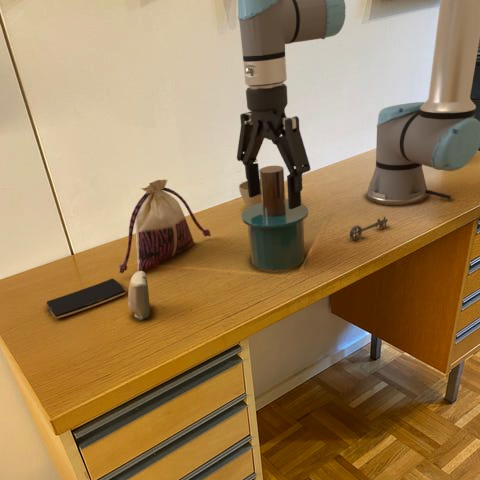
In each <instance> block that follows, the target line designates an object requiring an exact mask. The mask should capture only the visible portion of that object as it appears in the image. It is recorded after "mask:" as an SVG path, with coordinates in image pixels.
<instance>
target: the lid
mask: <svg viewBox="0 0 480 480" xmlns="http://www.w3.org/2000/svg"><path fill="white" fill-rule="evenodd" d="M284 170H285V169H284V167H283V166H281V165H267V166H264V167H261V168H259V179H260V184H261V196H262V203H259V204H256V205H253V206H251V207H249V208H248V207H247V208H245V209H244V210H243V211H242V212H241V213H240V219H241V222H242V223H244V224H245V225H246V226H248V225H249V226H252V227H257V228H280V227H286V226H290V225H293V224H296V223H299V222H301V221H302V220H303V221H304V220H306V218H308V216H309V208H308V207H307V206H306V205H305V204H303V203H301V206H299V207H296V208H294V209H292V210H291V209H289V204H288V200H286V186H285V171H284Z"/></svg>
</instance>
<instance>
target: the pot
mask: <svg viewBox="0 0 480 480" xmlns="http://www.w3.org/2000/svg"><path fill="white" fill-rule="evenodd" d="M247 229H248V230H247V231H248V239H249V241H248V242H249V249H250V259H251V263H252V265H253V266H255V267H257V268H258V269H261V270H265V271H282V270H283V271H284V270H288V269H292V268H295V267H297V266H299V265H300V264H301V263H303V262H304V260H305V258H306V255H305V254H306V253H305V230H304V229H305V228H304V220H302V221H301V222H299V223H296V224H293V225H290V226H286V227H280V228H257V227H252V226H249V225H247Z"/></svg>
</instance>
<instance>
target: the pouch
mask: <svg viewBox="0 0 480 480" xmlns="http://www.w3.org/2000/svg"><path fill="white" fill-rule="evenodd" d="M167 183H168V179H167V178H163V179H156V180H154V181H152V182H149V183H148V186H146V187H140V189H141V190H143V191H144V192H145V193H143V195H142V197H141V198H140V199H139V200H138V202H136V205H135V207H134V209H133V211H132V213H131V216H130V219H129V227H128V242H127V250H126V254H125V258H124V260H123V263H121V264H119V267H118V269H119V272H118V273H120V274H124V273H125V271H127V270H128V265H127V264H128V262H129V259H130V254H131V249H132V242H133V235H134V234H133V233H134V229H135V246H136V247H135V248H136V260H137V261H136V264H137V265H136V266H137V272H138V271H143V272H145V273H146V271H148V270H150V269H152V268H154V267H156V266H157V265H159V264H161V263H163V262H164V261H167V260H168V259H170V258H173V257H175V256H176V255H178V254H180V253H182V252H184V251H186V250H188V249H190V248H192V247H193V246H195V240H194V238H193V235H192V233H191V229H190V227H189V223H188V221H187V219H186V216H185V214H184V211H183V209H182V207H181V205H180V203H179V201H178V200H177V199H176V198H175V197H177V198H178V199H179V200H180V201H181V203H183V205H184V206H185V208H186V210H187V211H188V214H189V216H190V218H191V219H192V222H193V223H194V225H195V226H196V227H197V228H198V229H199V230H200V231H201V232H202V235H203V236H204V237H211V236H212V234H211V231H210V230H209V229H208V228H206V229H204V228H203V227H202V226H201V224H200V223H199V221H198V220H197V218H196V217H195V214H194V213H193V211H192V209H191V208H190V206H189V205H188V203H187V201H186V200H185V199H184V198H183V197H182V195H180V194H179V193H178V192H176V191H175V190H173V189H171V188H169V187H166V185H167ZM171 194H172V195H174V196H172V195H171Z"/></svg>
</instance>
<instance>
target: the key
mask: <svg viewBox="0 0 480 480" xmlns="http://www.w3.org/2000/svg"><path fill="white" fill-rule="evenodd" d="M387 222H388V219H387V217H386V216H383V219H381V218H378V219H376V222H375V223H372V224H370V225H367V226H365V227H363V228H362V227H361V226H360V225H354V226H352V227H351V229H350V230H349V238H350V239H351V240H352V241H357V240H359V239H360V238H361V236H362V234H363V233H362V232H365V231H367V230H370V229H372V228H377V227H378V230H379V231H380V230H383V229H384V228H386V227H387Z"/></svg>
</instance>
